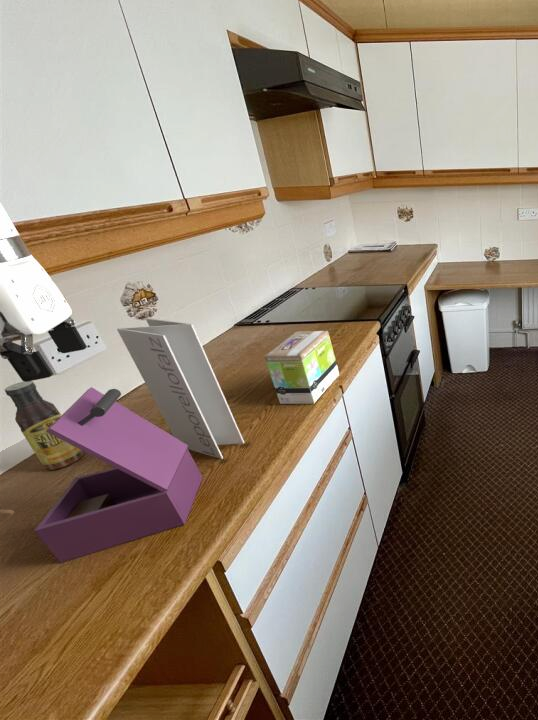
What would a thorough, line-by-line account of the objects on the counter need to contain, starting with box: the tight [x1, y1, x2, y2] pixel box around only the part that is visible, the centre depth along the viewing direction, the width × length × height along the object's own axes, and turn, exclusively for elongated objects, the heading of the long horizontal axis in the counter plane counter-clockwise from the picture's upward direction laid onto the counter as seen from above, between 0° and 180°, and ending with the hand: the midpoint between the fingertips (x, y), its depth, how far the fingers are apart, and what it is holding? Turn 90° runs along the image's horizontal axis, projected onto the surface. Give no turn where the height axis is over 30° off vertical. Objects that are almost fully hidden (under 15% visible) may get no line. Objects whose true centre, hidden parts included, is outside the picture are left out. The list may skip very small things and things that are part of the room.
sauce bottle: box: [4, 380, 83, 471], centre depth 87 cm, size 6×6×20 cm
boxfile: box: [34, 449, 203, 564], centre depth 74 cm, size 18×13×8 cm
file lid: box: [46, 386, 188, 492], centre depth 70 cm, size 18×13×5 cm
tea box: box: [264, 330, 340, 405], centre depth 110 cm, size 15×10×15 cm
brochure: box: [116, 317, 245, 460], centre depth 87 cm, size 14×6×30 cm, turn 70°
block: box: [67, 494, 116, 518], centre depth 73 cm, size 4×4×4 cm
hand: (58, 363), depth 63 cm, fingers open, 9 cm apart
